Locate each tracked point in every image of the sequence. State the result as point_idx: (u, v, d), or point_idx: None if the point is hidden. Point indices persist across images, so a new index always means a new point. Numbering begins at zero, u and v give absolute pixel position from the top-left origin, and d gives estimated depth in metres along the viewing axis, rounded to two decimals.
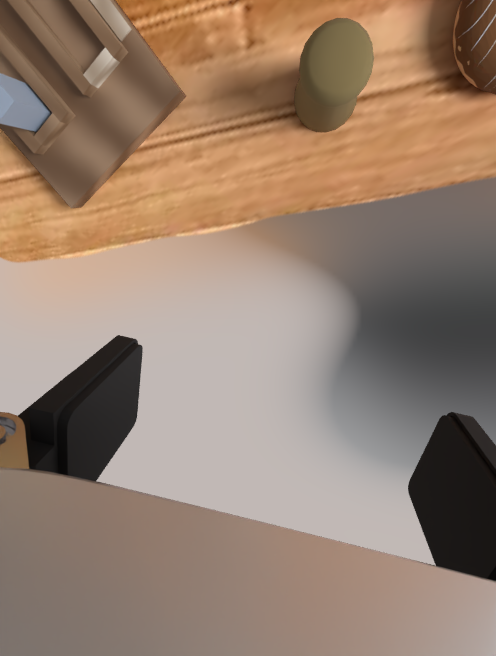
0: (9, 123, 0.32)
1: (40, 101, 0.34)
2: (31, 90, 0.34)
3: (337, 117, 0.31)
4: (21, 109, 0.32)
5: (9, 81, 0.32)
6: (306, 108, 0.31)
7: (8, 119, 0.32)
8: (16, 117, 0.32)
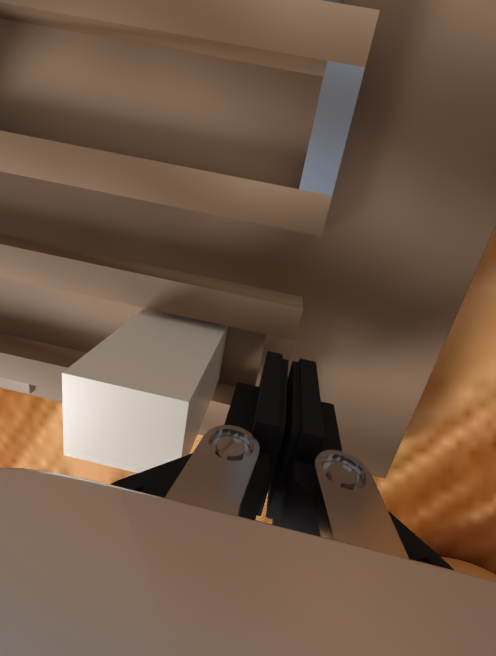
0: None
1: None
2: None
3: None
4: None
5: None
6: None
7: None
8: None
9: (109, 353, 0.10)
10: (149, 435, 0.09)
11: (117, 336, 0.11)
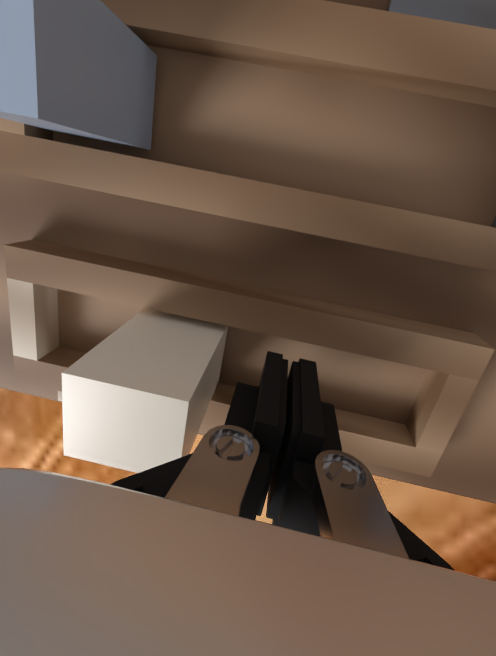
0: None
1: (78, 134, 0.11)
2: (115, 142, 0.11)
3: None
4: None
5: (63, 128, 0.08)
6: None
7: None
8: None
9: (109, 353, 0.10)
10: (149, 434, 0.09)
11: (117, 336, 0.11)
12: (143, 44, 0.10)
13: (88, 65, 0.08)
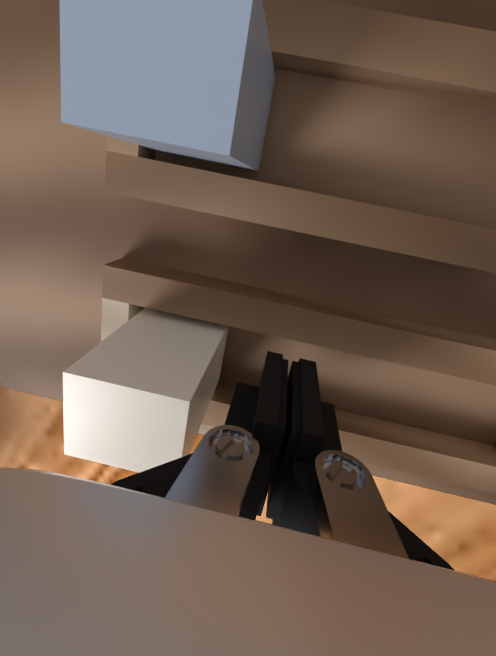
0: None
1: (191, 156, 0.11)
2: (230, 164, 0.11)
3: None
4: None
5: (212, 157, 0.08)
6: None
7: None
8: None
9: (110, 352, 0.10)
10: (149, 434, 0.09)
11: (118, 335, 0.11)
12: (273, 68, 0.10)
13: (253, 96, 0.07)
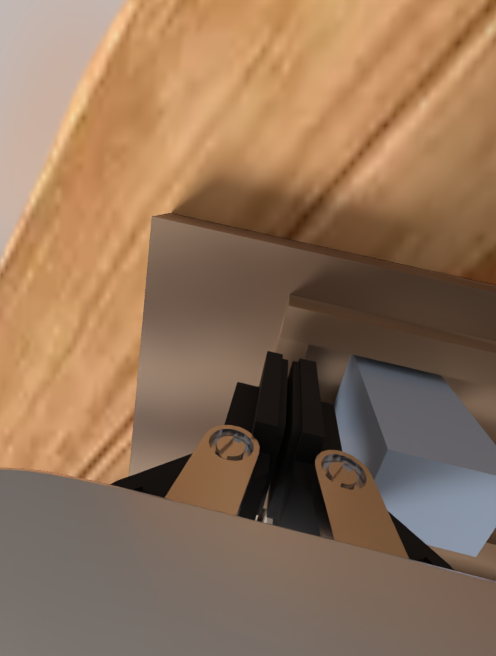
0: (374, 426, 0.09)
1: None
2: None
3: None
4: None
5: None
6: None
7: (372, 447, 0.09)
8: (363, 442, 0.10)
9: None
10: None
11: None
12: (447, 385, 0.12)
13: None
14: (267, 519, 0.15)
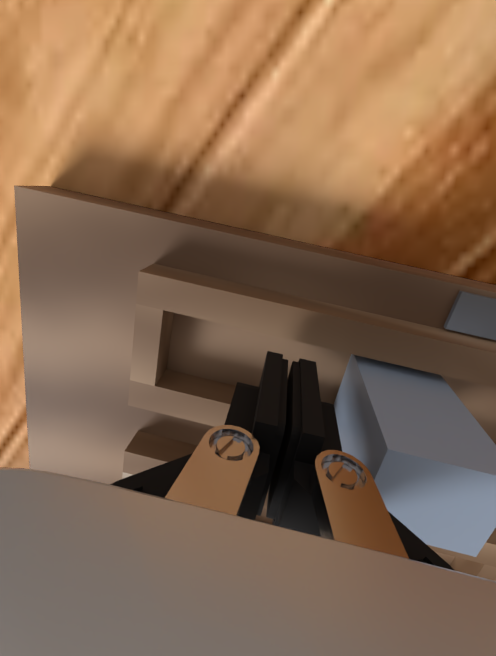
0: (374, 426, 0.09)
1: None
2: None
3: None
4: None
5: None
6: None
7: (372, 447, 0.09)
8: (363, 442, 0.10)
9: None
10: None
11: None
12: (447, 385, 0.12)
13: None
14: None
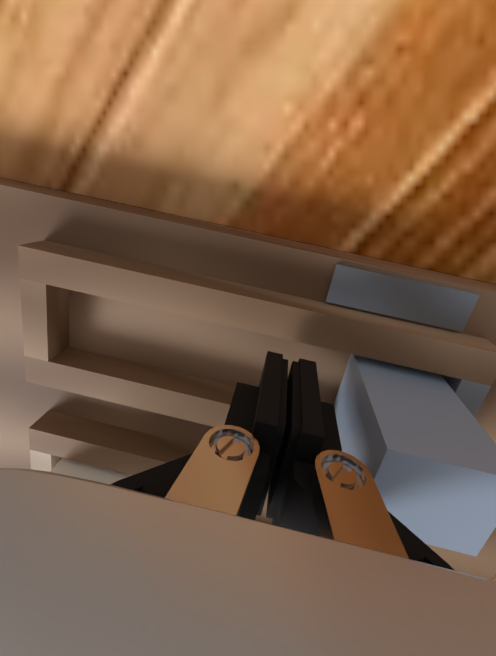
0: (374, 425, 0.09)
1: None
2: None
3: None
4: None
5: None
6: None
7: (372, 447, 0.09)
8: (362, 442, 0.10)
9: None
10: None
11: None
12: (447, 384, 0.12)
13: None
14: (56, 466, 0.16)
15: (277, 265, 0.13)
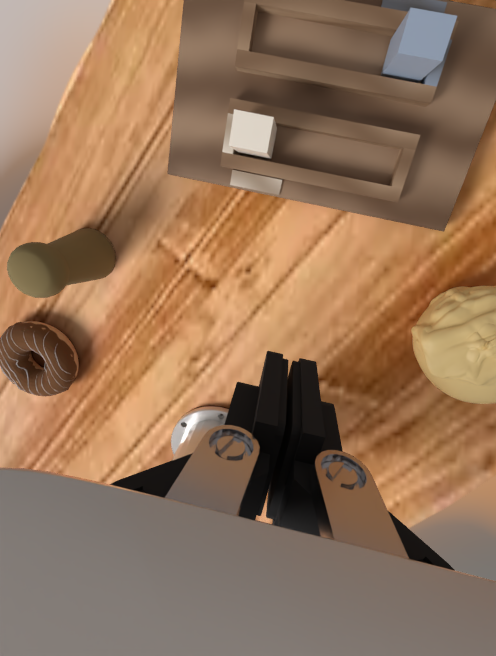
0: (404, 19, 0.25)
1: (396, 75, 0.29)
2: (410, 78, 0.29)
3: None
4: (395, 49, 0.26)
5: (422, 68, 0.27)
6: (70, 237, 0.37)
7: (404, 23, 0.25)
8: (399, 34, 0.26)
9: None
10: (259, 132, 0.28)
11: None
12: None
13: None
14: None
15: None
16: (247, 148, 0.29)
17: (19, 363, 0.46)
